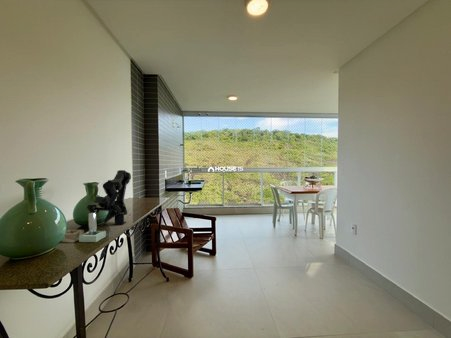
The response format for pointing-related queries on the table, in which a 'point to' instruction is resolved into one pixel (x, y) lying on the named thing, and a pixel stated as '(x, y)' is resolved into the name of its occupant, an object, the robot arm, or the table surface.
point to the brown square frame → (72, 235)
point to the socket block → (92, 237)
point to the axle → (92, 223)
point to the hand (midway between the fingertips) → (96, 222)
